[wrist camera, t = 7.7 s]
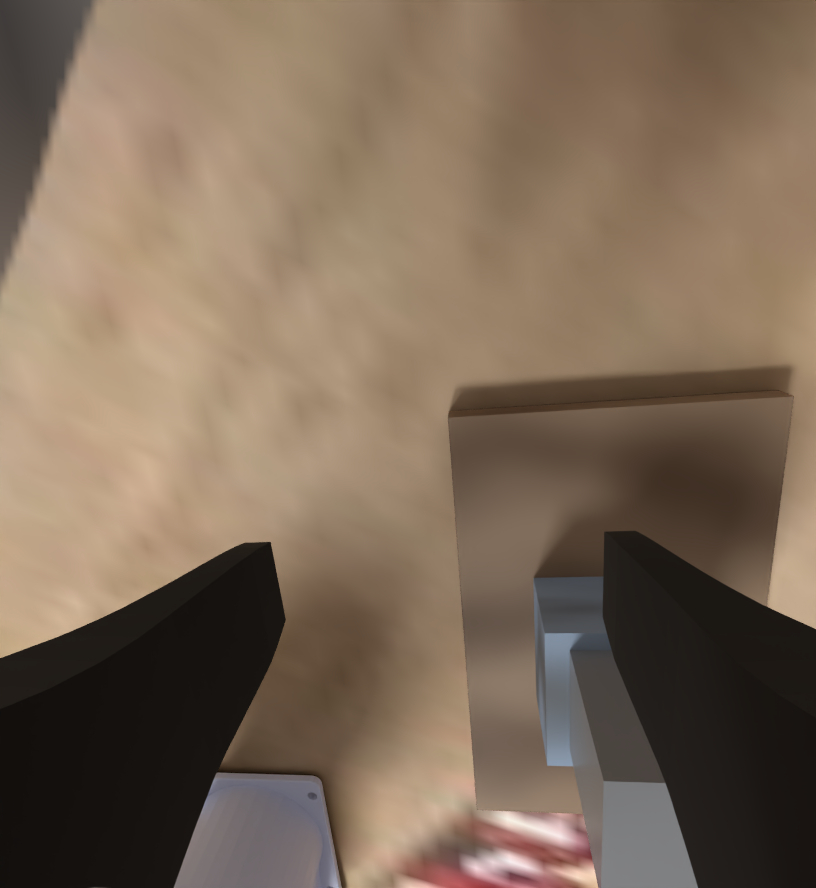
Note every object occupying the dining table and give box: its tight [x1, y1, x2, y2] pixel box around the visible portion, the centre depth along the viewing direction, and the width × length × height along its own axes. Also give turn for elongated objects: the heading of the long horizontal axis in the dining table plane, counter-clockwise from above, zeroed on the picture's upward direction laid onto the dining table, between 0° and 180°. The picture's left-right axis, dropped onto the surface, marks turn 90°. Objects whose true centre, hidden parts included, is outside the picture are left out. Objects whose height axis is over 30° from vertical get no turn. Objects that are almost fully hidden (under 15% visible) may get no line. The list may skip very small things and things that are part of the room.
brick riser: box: [448, 390, 794, 814], centre depth 21 cm, size 20×12×4 cm, turn 5°
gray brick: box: [570, 650, 698, 888], centre depth 16 cm, size 4×4×5 cm
